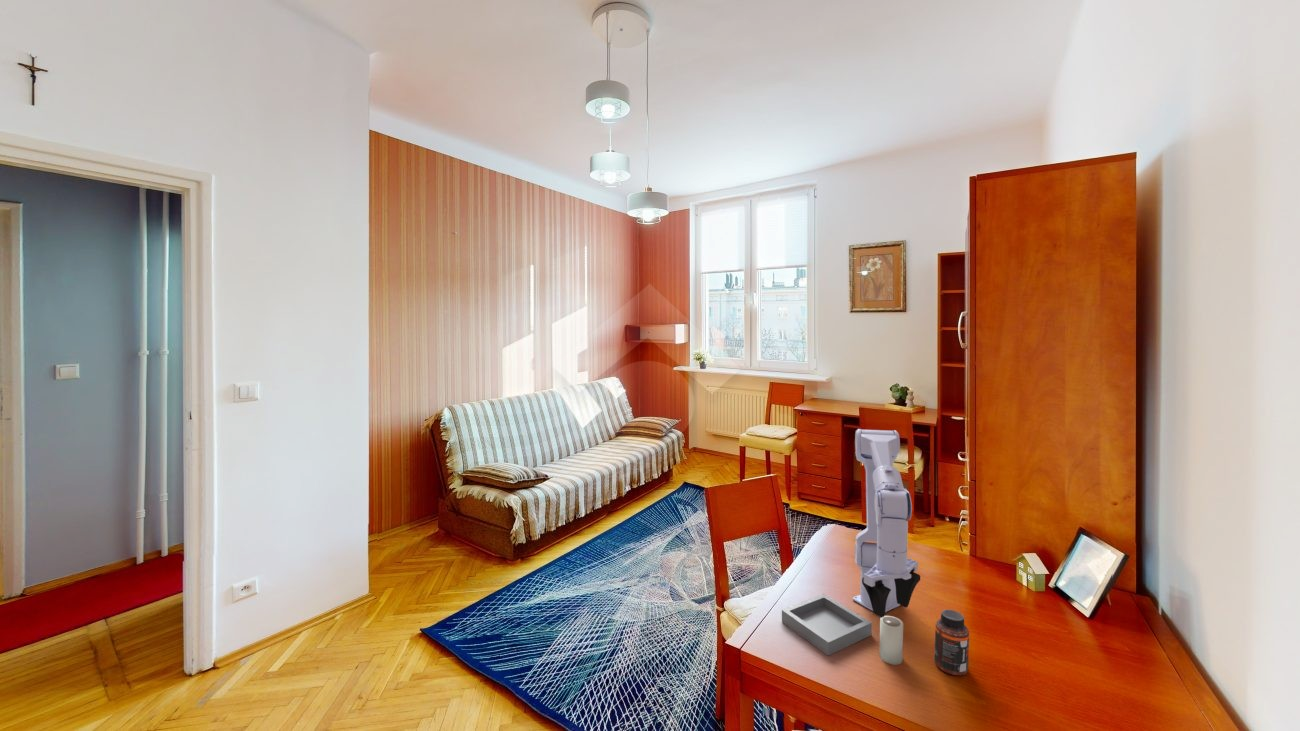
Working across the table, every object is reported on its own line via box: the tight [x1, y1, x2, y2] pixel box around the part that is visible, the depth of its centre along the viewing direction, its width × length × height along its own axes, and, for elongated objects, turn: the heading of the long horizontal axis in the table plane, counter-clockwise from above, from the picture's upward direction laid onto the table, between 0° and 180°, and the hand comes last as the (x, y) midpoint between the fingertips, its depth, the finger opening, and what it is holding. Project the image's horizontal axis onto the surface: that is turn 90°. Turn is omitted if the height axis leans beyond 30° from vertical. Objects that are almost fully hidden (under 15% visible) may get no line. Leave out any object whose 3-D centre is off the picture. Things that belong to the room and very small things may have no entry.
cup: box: [878, 615, 904, 666], centre depth 105 cm, size 4×4×8 cm
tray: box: [781, 593, 873, 656], centre depth 115 cm, size 14×14×3 cm
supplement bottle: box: [934, 609, 970, 676], centre depth 101 cm, size 6×6×11 cm
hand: (890, 609), depth 104 cm, fingers open, 7 cm apart
